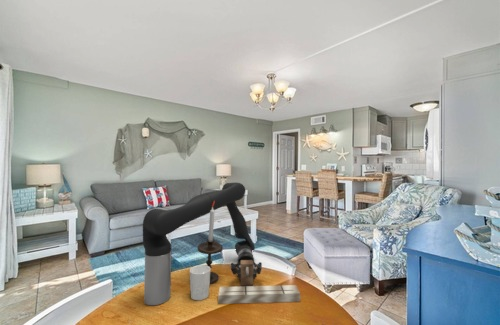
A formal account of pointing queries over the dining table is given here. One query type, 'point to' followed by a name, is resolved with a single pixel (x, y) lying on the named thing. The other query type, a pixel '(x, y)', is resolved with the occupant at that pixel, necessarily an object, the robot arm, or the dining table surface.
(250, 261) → the upright wooden pillar
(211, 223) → the candlestick
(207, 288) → the white cup
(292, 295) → the batten
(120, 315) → the dining table surface
